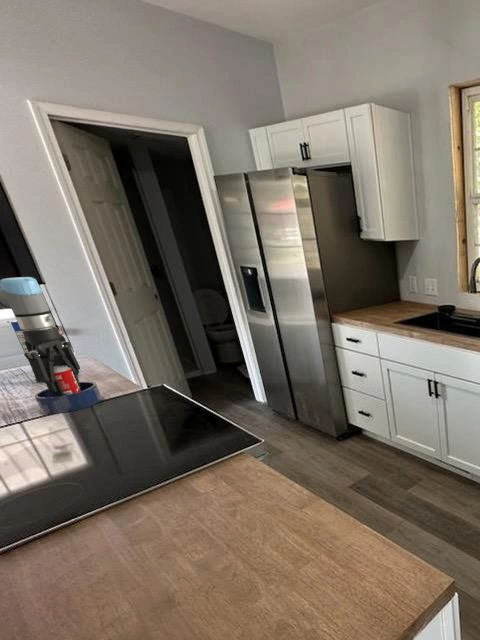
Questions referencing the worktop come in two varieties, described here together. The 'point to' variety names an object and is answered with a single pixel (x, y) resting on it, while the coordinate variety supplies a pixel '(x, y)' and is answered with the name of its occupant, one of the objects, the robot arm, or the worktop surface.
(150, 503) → the worktop surface
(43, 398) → the blue bowl
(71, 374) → the beverage can
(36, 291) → the robot arm
